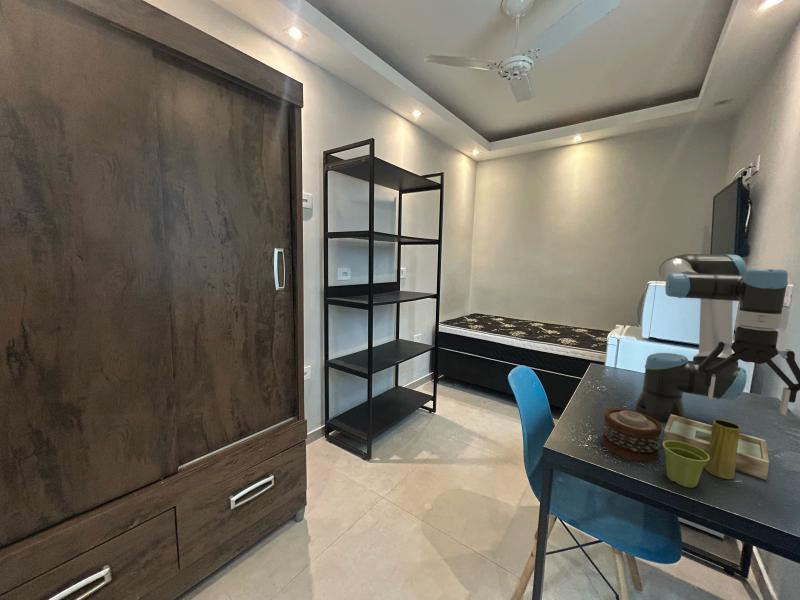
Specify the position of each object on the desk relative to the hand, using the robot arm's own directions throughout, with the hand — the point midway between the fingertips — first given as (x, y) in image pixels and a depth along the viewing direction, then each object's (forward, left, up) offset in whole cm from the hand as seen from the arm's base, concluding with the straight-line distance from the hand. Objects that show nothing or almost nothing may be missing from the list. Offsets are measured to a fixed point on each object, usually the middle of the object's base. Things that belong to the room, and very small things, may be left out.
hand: (744, 405), depth 88 cm
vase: (-3, -3, -20) cm, 20 cm away
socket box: (-5, +10, -20) cm, 22 cm away
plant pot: (-10, -15, -20) cm, 27 cm away
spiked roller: (-23, -7, -20) cm, 31 cm away
